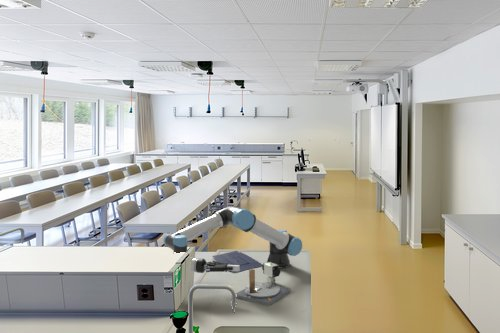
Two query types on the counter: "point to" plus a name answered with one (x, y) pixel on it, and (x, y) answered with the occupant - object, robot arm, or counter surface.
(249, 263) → the dark blue flat panel
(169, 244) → the robot arm
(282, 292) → the dial plate
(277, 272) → the pneumatic valve
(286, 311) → the counter surface
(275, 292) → the peg stand
